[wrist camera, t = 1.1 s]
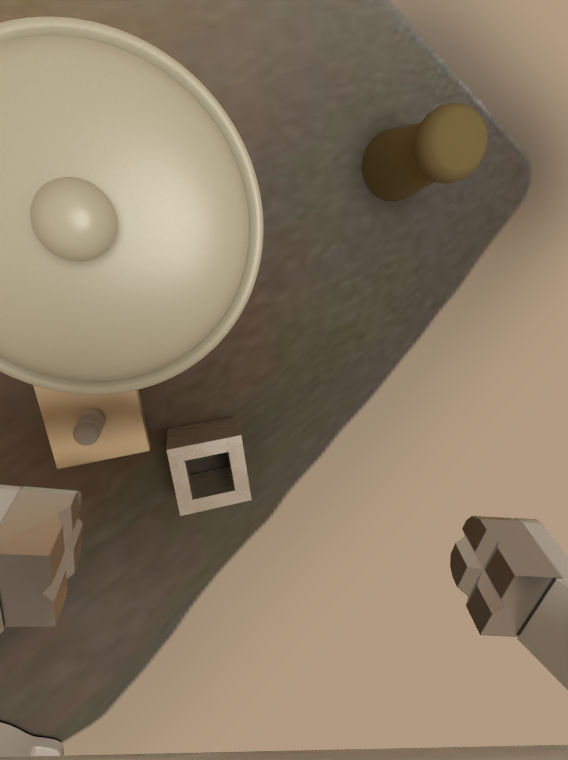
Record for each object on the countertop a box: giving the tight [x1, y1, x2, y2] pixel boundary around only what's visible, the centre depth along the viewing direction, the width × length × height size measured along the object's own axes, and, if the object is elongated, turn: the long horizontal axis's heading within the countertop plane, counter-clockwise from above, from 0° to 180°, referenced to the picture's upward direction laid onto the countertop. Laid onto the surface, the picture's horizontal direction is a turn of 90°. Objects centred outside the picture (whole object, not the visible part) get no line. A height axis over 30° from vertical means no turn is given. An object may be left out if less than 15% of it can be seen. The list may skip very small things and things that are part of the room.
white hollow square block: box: [166, 416, 251, 516], centre depth 44 cm, size 6×6×5 cm
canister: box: [0, 17, 263, 395], centre depth 30 cm, size 18×18×21 cm
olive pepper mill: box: [362, 103, 487, 201], centre depth 38 cm, size 6×6×11 cm
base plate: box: [33, 385, 150, 469], centre depth 40 cm, size 8×8×6 cm
